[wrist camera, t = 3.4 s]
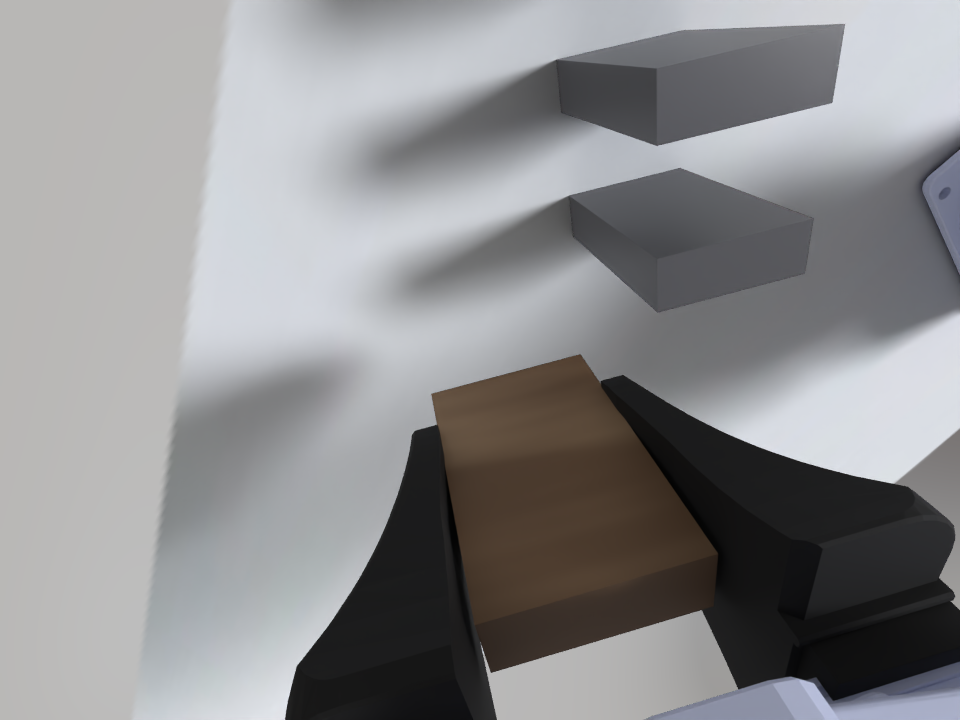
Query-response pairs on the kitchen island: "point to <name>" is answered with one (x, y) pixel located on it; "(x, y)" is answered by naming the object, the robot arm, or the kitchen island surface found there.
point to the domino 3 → (563, 516)
